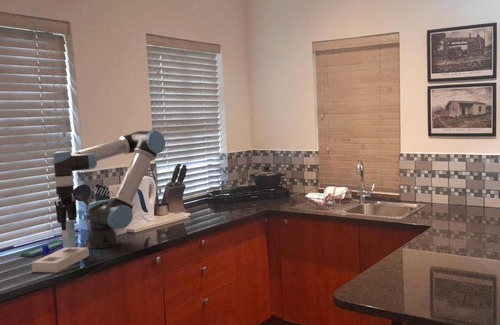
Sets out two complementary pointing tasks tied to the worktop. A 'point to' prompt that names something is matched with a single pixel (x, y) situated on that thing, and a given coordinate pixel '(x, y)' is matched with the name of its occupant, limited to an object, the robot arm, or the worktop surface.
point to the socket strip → (60, 259)
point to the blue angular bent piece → (47, 251)
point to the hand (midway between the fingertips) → (68, 235)
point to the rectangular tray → (38, 249)
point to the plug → (70, 240)
